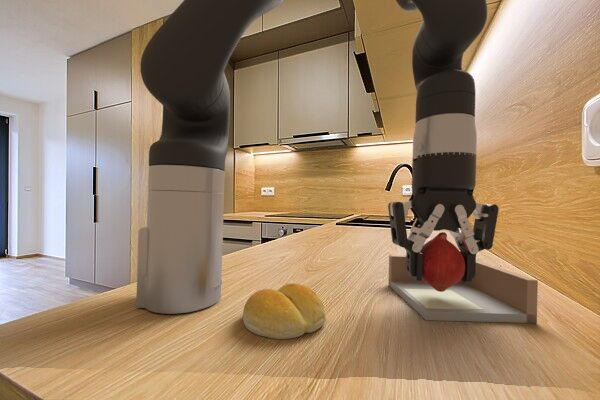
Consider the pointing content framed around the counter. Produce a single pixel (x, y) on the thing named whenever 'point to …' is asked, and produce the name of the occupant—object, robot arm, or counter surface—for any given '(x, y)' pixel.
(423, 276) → the onion
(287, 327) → the bread roll
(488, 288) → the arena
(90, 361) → the counter surface
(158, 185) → the robot arm
